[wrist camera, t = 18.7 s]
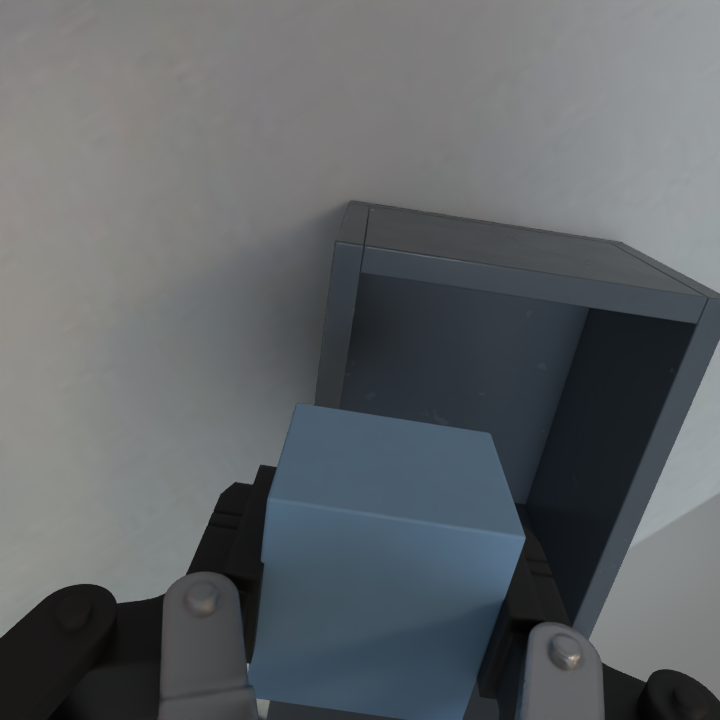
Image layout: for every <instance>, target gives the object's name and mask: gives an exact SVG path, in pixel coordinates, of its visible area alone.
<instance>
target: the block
mask: <svg viewBox="0 0 720 720" xmlns="http://www.w3.org/2000/svg"><path fill="white" fill-rule="evenodd" d="M525 539H526V538H525V534H524V531H523V528H522V525H521V522H520V519H519V516H518V513H517V510H516V508H515V505H514V502H513V499H512V496H511V493H510V490H509V487H508V484H507V481H506V478H505V475H504V472H503V469H502V466H501V463H500V460H499V457H498V454H497V452H496V449H495V446H494V443H493V440H492V437H491V434H490V433H486V432H480V431H473V430H467V429H461V428H454V427H448V426H441V425H435V424H429V423H422V422H416V421H409V420H403V419H397V418H390V417H384V416H377V415H371V414H365V413H358V412H352V411H345V410H339V409H333V408H326V407H320V406H313V405H307V404H301V403H297V404H296V407H295V410H294V413H293V416H292V420H291V423H290V426H289V430H288V433H287V436H286V439H285V443H284V446H283V449H282V453H281V456H280V459H279V462H278V466H277V469H276V472H275V476H274V479H273V482H272V485H271V489H270V492H269V495H268V499H267V506H266V516H265V525H264V534H263V543H262V552H261V562H263V563H264V572H263V581H262V590H261V598H260V607H259V616H258V624H257V633H256V642H255V649H254V653H253V657H252V661H251V664H250V663H249V670H248V681H249V685H253V687H254V690H255V695H256V698H258V699H265V700H272V701H279V702H286V703H293V704H300V705H307V706H314V707H321V708H328V709H335V710H342V711H349V712H356V713H363V714H370V715H377V716H385V717H392V718H399V719H406V720H462V719H463V716H464V713H465V710H466V707H467V705H468V702H469V699H470V696H471V693H472V690H473V687H474V685H475V682H476V679H477V676H478V673H479V670H480V667H481V664H482V661H483V659H484V656H485V653H486V650H487V647H488V644H489V641H490V639H491V636H492V633H493V630H494V627H495V624H496V622H497V619H498V616H499V613H500V610H501V607H502V604H503V602H504V599H505V596H506V593H507V590H508V588H509V585H510V582H511V579H512V576H513V573H514V570H515V568H516V565H517V562H518V559H519V556H520V553H521V550H522V548H523V545H524V542H525Z"/></svg>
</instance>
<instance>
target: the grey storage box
mask: <svg viewBox="0 0 720 720" xmlns="http://www.w3.org/2000/svg"><path fill="white" fill-rule="evenodd" d="M719 340H720V294H719V293H717V292H716V291H714V290H712V289H710V288H708V287H706V286H704V285H702V284H700V283H698V282H697V281H695V280H693V279H691V278H689V277H687V276H685V275H683V274H681V273H679V272H678V271H676V270H674V269H672V268H670V267H668V266H666V265H664V264H662V263H660V262H658V261H657V260H655V259H653V258H651V257H649V256H647V255H645V254H643V253H641V252H639V251H638V250H636V249H634V248H632V247H630V246H628V245H626V244H624V243H622V242H617V241H611V240H604V239H598V238H591V237H585V236H578V235H572V234H565V233H559V232H553V231H546V230H540V229H533V228H527V227H520V226H514V225H507V224H501V223H494V222H488V221H481V220H475V219H469V218H462V217H456V216H449V215H443V214H436V213H430V212H423V211H417V210H410V209H404V208H397V207H391V206H385V205H378V204H372V203H365V202H359V201H350V203H349V206H348V209H347V211H346V214H345V217H344V219H343V222H342V225H341V227H340V230H339V233H338V235H337V238H336V241H335V246H334V253H333V261H332V269H331V277H330V285H329V293H328V301H327V309H326V316H325V324H324V332H323V340H322V348H321V356H320V364H319V371H318V379H317V387H316V395H315V403H314V406H320V407H326V408H333V409H339V410H345V411H352V412H358V413H365V414H371V415H377V416H384V417H390V418H397V419H403V420H409V421H416V422H422V423H429V424H435V425H441V426H448V427H454V428H461V429H467V430H473V431H480V432H486V433H490V434H491V437H492V440H493V443H494V446H495V449H496V452H497V454H498V457H499V460H500V463H501V466H502V469H503V472H504V475H505V478H506V481H507V484H508V487H509V490H510V493H511V496H512V499H513V502H514V505H515V508H516V510H517V513H518V516H519V519H520V522H521V525H522V526H525V527H527V528H528V529H529V530H530V531H531V532H532V534H533V535H534V536H535V537H536V538H537V539H538V541H539V542H540V543H541V546H542V548H543V551H544V554H545V556H546V559H547V563H548V564H549V567H550V570H551V572H552V578H554V580H555V583H556V586H557V589H558V591H559V594H560V597H561V599H562V602H563V605H564V607H565V610H566V613H567V615H568V618H569V621H570V623H571V626H572V628H573V629H574V630H576V631H578V632H579V633H581V634H582V635H583V636H584V637H586V638H587V639H588V640H589V637H590V635H591V633H592V631H593V628H594V626H595V624H596V621H597V619H598V617H599V615H600V612H601V610H602V608H603V605H604V603H605V601H606V599H607V596H608V594H609V592H610V589H611V587H612V585H613V583H614V580H615V578H616V575H617V573H618V571H619V569H620V567H621V564H622V562H623V560H624V557H625V555H626V553H627V550H628V548H629V546H630V544H631V541H632V539H633V537H634V534H635V532H636V530H637V528H638V525H639V523H640V521H641V518H642V516H643V514H644V511H645V509H646V507H647V505H648V502H649V500H650V498H651V495H652V493H653V491H654V489H655V486H656V484H657V482H658V479H659V477H660V475H661V473H662V470H663V468H664V466H665V463H666V461H667V459H668V456H669V454H670V452H671V450H672V447H673V445H674V443H675V440H676V438H677V436H678V434H679V431H680V429H681V427H682V424H683V422H684V420H685V417H686V415H687V413H688V411H689V408H690V406H691V404H692V401H693V399H694V397H695V395H696V392H697V390H698V388H699V385H700V383H701V381H702V379H703V376H704V374H705V372H706V369H707V367H708V365H709V362H710V360H711V358H712V356H713V353H714V351H715V349H716V346H717V344H718V342H719Z"/></svg>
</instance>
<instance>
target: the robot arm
mask: <svg viewBox="0 0 720 720" xmlns="http://www.w3.org/2000/svg"><path fill="white" fill-rule="evenodd" d="M276 469H277V467H272V466H266V465H260V467H259V470H258V472H257V475H256V478H255V481H254V484H253V485H250V484H244V483H237V482H235V483H233V484H232V485H231V486H230V487H229V488H227V489H226V490H225V491H224V492H223V493H222V494H220V497H219V499H218V502H217V504H216V506H215V509H214V512H213V513H212V516H211V518H210V520H209V523H208V526H207V527H206V530H205V532H204V534H203V537H202V539H201V541H200V544H199V546H198V548H197V551H196V553H195V555H194V558H193V560H192V562H191V565H190V567H189V569H188V572H187V574H186V575H185V576H184V577H182V578H180V579H178V580H177V581H176V582H174V583H173V584H172V585H171V586H170V588H169V589H168V590H167V592H166V593H165V594H163V595H161V596H158V597H155V598H152V599H147V600H142V601H134V602H126V603H118V604H117V603H116V600H115V597H114V596H113V595H112V593H111V592H110V591H108V590H107V589H105V588H103V587H101V586H98V585H92V584H79V585H73V586H68V587H65V588H63V589H60V590H58V591H56V592H54V593H52V594H51V595H49V596H48V597H46V598H45V599H44V600H43V601H41V602H40V603H39V604H38V605H37V606H36V607H35V608H34V609H32V610H31V611H30V612H29V613H28V614H27V615H26V616H25V617H24V618H22V619H21V620H20V621H19V622H18V623H17V624H16V625H15V626H14V627H12V628H11V629H10V630H9V631H8V632H7V633H6V634H5V635H3V636H2V637H1V638H0V720H152V719H157V718H158V720H259V718H258V710H257V702H256V695H255V690H254V687H253V685H249V681H248V673H247V664H246V663H250V664H251V661H252V657H253V653H254V649H255V642H256V633H257V624H258V616H259V607H260V598H261V590H262V581H263V572H264V563H263V562H261V552H262V543H263V534H264V525H265V516H266V506H267V499H268V495H269V492H270V489H271V485H272V482H273V479H274V476H275V472H276ZM522 528H523V531H524V534H525V538H526V539H525V542H524V545H523V548H522V550H521V553H520V556H519V559H518V562H517V565H516V568H515V570H514V573H513V576H512V579H511V582H510V585H509V588H508V590H507V593H506V596H505V599H504V602H503V604H502V607H501V610H500V613H499V616H498V619H497V622H496V624H495V627H494V630H493V633H492V636H491V639H490V641H489V644H488V647H487V650H486V653H485V656H484V659H483V661H482V664H481V667H480V670H479V673H478V676H477V684H478V690H479V696H480V697H483V698H490V699H497V703H498V708H499V714H498V717H497V719H496V720H720V701H719V700H718V699H717V698H716V697H715V696H714V695H713V693H711V692H710V691H709V690H708V689H707V688H706V687H705V686H703V685H702V684H701V683H700V682H698V681H696V680H695V679H693V678H691V677H689V676H688V675H686V674H683V673H681V672H678V671H674V670H668V669H663V670H658V671H655V672H653V673H652V674H651V676H650V677H649V679H648V681H647V683H646V682H643V681H641V680H639V679H637V678H634V677H632V676H629V675H627V674H625V673H622V672H620V671H617V670H615V669H613V668H611V667H609V666H607V665H606V664H604V663H602V662H601V659H600V656H599V654H598V652H597V650H596V649H595V647H594V646H593V645H592V644H591V642H590V641H589V640H588V639H587V638H586V637H584V636H583V635H582V634H581V633H579V632H578V631H576V630H574V629H573V628H572V626H571V623H570V621H569V618H568V615H567V613H566V610H565V607H564V605H563V602H562V599H561V597H560V594H559V591H558V589H557V586H556V583H555V580H554V578H552V572H551V570H550V567H549V564H548V563H547V559H546V556H545V554H544V551H543V548H542V546H541V543H540V542H539V541H538V539H537V538H536V537H535V536H534V535H533V534H532V532H531V531H530V530H529V529H528V528H527V527H525V526H522Z"/></svg>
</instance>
